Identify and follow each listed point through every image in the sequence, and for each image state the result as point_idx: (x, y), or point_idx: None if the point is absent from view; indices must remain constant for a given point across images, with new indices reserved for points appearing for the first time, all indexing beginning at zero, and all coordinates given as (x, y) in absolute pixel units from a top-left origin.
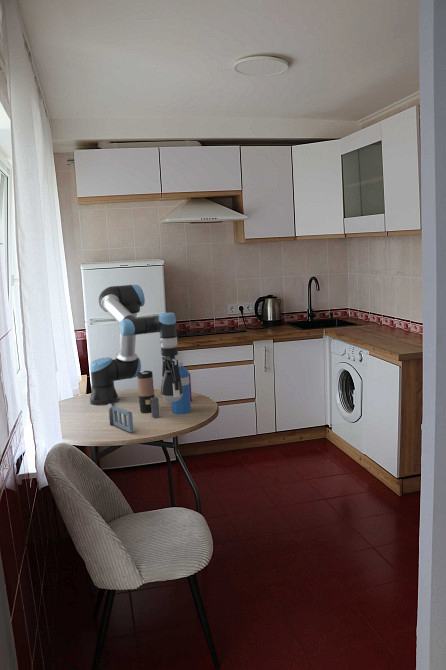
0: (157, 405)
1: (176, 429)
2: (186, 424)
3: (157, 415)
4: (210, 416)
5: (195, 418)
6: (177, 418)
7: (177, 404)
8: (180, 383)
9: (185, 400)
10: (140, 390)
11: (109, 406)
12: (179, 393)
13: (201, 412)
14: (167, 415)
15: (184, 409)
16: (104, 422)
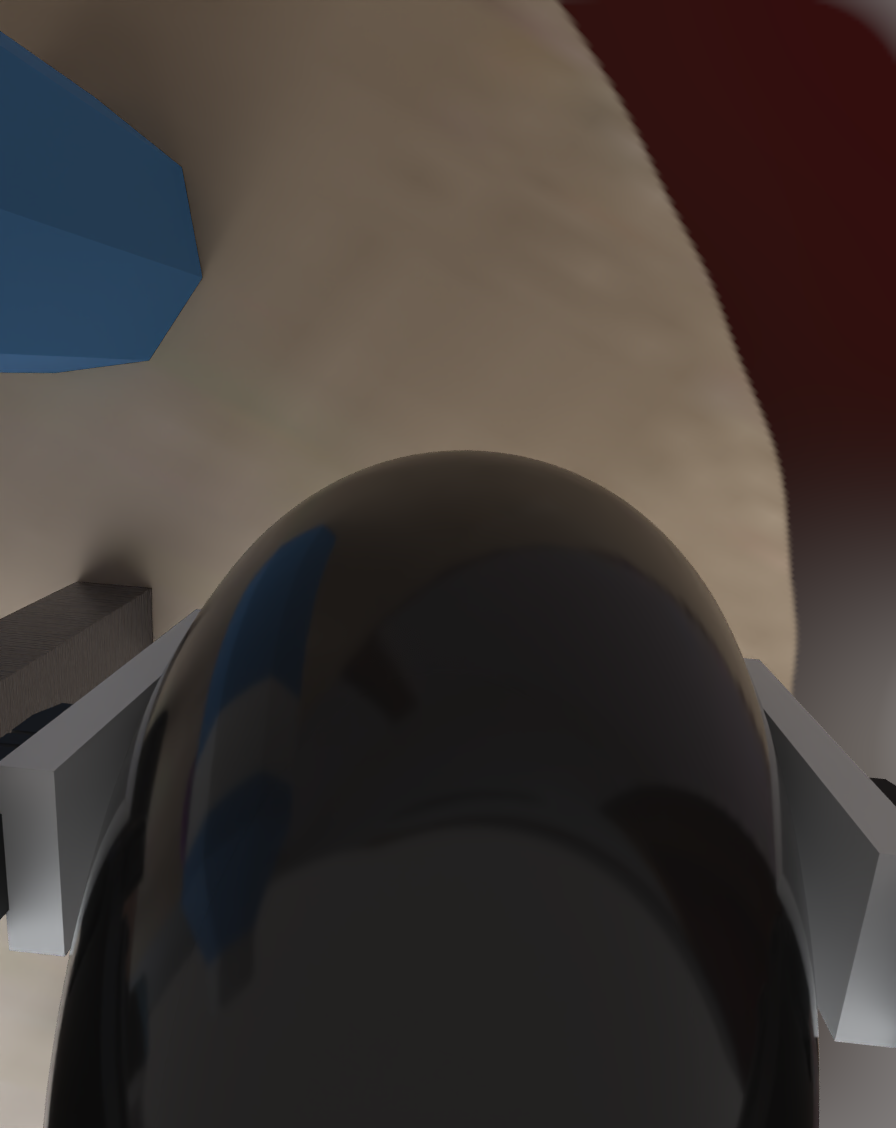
0: (72, 659)
1: (749, 654)
2: (658, 471)
3: (140, 621)
4: (559, 4)
5: (500, 245)
6: (342, 440)
7: (93, 335)
8: (733, 671)
9: (99, 184)
10: None
11: None
12: (783, 689)
13: (280, 12)
14: (136, 480)
15: (174, 248)
16: (6, 1079)
